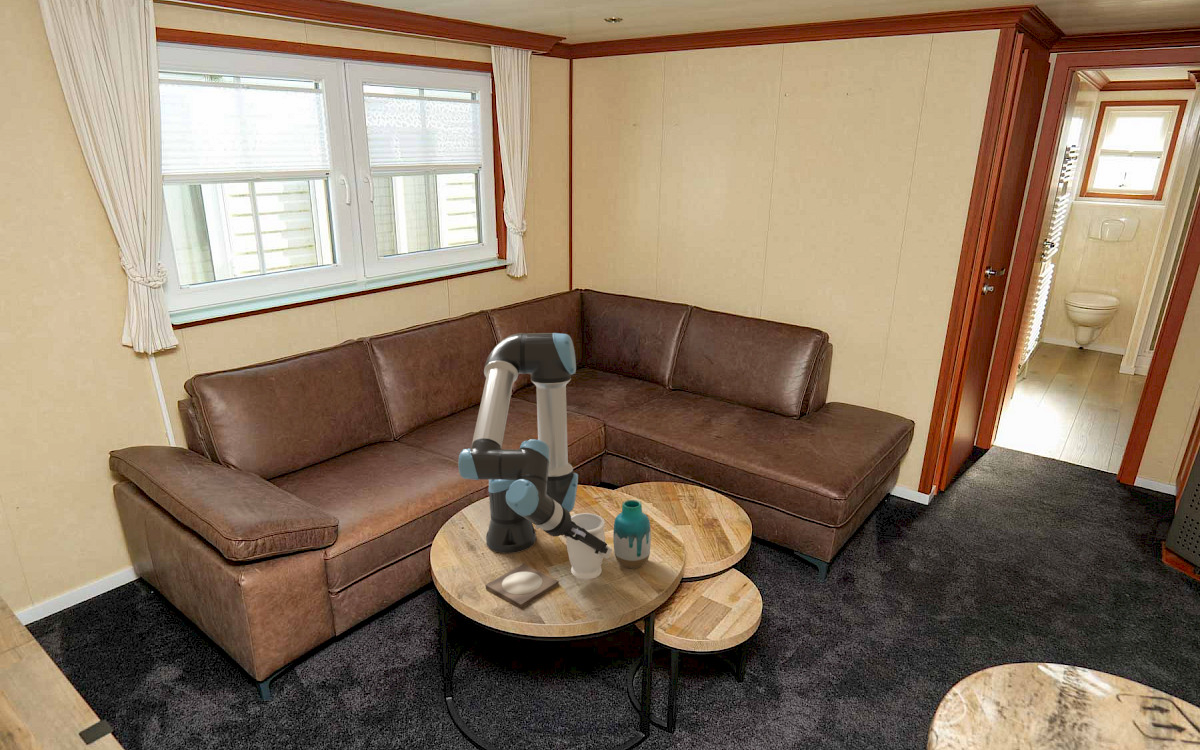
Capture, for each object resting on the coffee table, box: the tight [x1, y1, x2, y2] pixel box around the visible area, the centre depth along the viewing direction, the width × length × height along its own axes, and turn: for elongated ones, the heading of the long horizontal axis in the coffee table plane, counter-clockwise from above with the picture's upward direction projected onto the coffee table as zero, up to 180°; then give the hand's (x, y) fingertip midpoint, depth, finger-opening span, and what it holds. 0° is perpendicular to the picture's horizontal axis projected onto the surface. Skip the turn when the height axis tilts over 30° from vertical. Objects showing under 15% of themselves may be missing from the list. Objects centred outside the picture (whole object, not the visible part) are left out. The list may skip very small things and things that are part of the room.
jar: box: [565, 512, 606, 580], centre depth 185 cm, size 11×10×15 cm
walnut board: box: [485, 563, 560, 609], centre depth 188 cm, size 14×14×1 cm
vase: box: [612, 499, 652, 569], centre depth 196 cm, size 11×11×19 cm
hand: (593, 547), depth 188 cm, fingers closed on jar, 10 cm apart
